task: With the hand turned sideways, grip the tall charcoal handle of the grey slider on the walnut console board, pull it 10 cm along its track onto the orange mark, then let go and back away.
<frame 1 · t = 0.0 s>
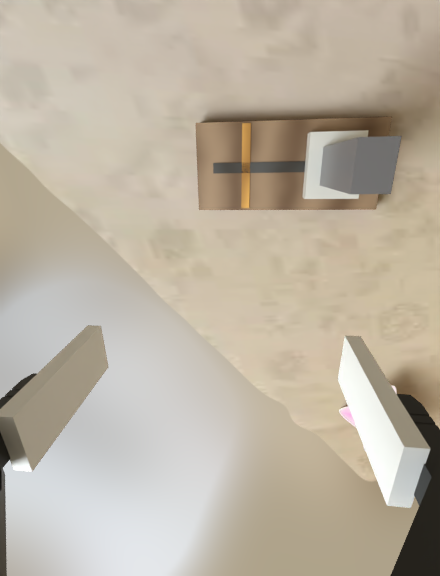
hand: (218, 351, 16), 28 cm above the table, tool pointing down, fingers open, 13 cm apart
console board: (285, 167, 38), on the table
slider: (348, 166, 29), point 9 cm above the table, slide at 0.0 cm
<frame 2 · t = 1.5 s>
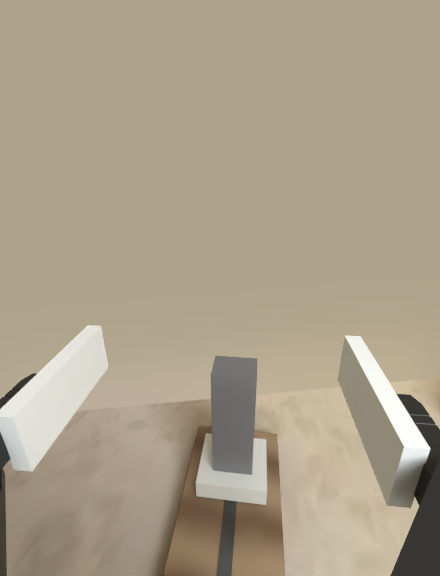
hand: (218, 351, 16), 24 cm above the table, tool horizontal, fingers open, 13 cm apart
console board: (228, 537, 29), on the table
slider: (234, 424, 30), point 9 cm above the table, slide at 0.0 cm
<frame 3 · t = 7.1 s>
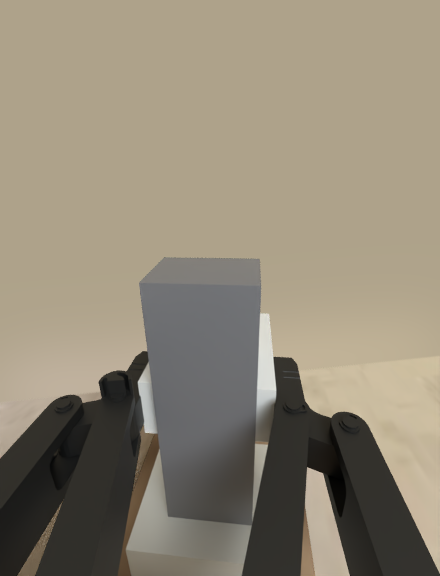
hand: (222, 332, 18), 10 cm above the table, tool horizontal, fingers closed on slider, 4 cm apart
slider: (210, 415, 14), point 9 cm above the table, slide at 0.0 cm, touching gripper
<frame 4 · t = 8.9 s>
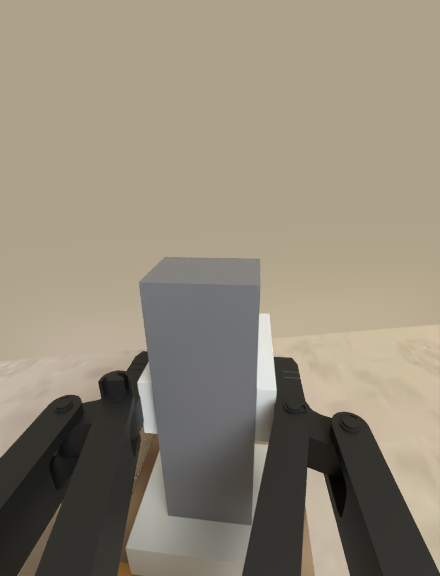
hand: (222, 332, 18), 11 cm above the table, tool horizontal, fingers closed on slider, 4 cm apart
console board: (219, 504, 19), on the table
slider: (210, 414, 14), point 9 cm above the table, slide at 7.0 cm, touching gripper
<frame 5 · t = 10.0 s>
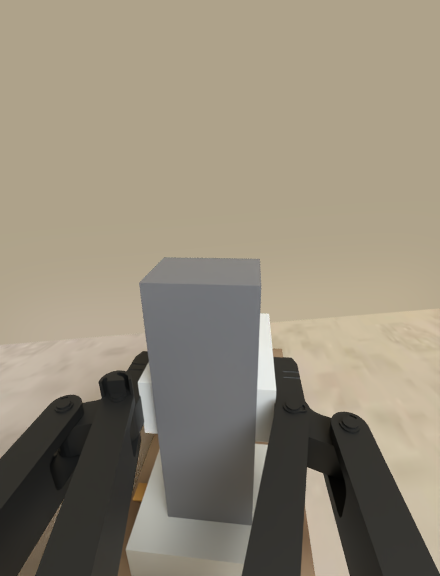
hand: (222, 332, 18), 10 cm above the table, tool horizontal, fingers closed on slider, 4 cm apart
console board: (224, 449, 23), on the table
slider: (210, 415, 14), point 9 cm above the table, slide at 11.0 cm, touching gripper
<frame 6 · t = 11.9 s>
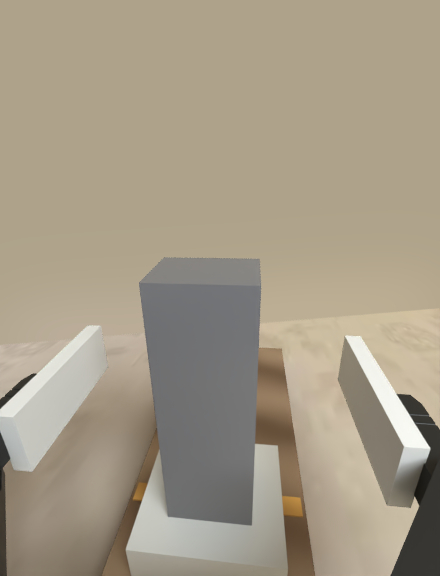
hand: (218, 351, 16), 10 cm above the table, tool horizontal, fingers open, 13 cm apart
console board: (224, 449, 23), on the table
slider: (210, 415, 14), point 9 cm above the table, slide at 11.0 cm
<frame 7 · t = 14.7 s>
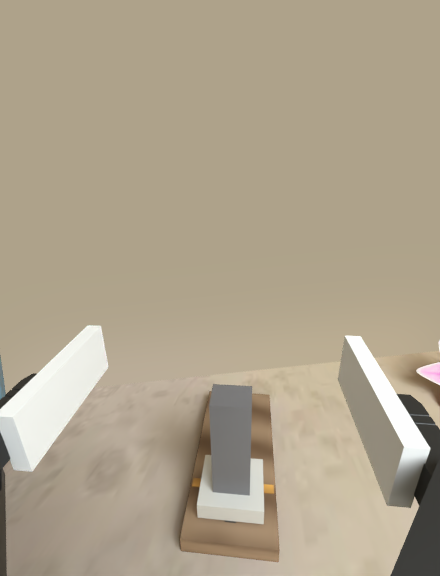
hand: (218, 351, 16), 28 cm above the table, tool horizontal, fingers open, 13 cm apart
console board: (235, 460, 41), on the table
slider: (231, 448, 32), point 9 cm above the table, slide at 11.0 cm
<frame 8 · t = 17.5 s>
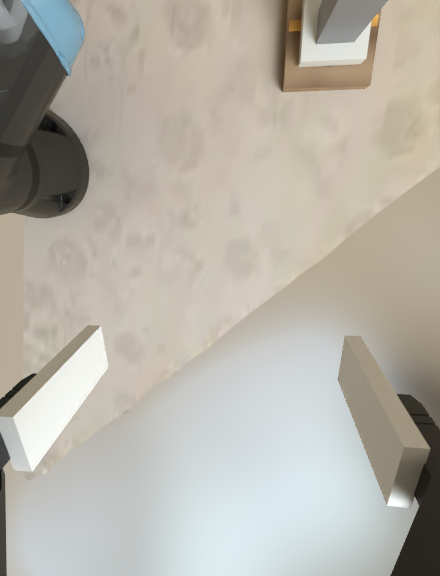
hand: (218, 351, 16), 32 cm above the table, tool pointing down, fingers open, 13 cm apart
slider: (350, 2, 27), point 9 cm above the table, slide at 11.0 cm
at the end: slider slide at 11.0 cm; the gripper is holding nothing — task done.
